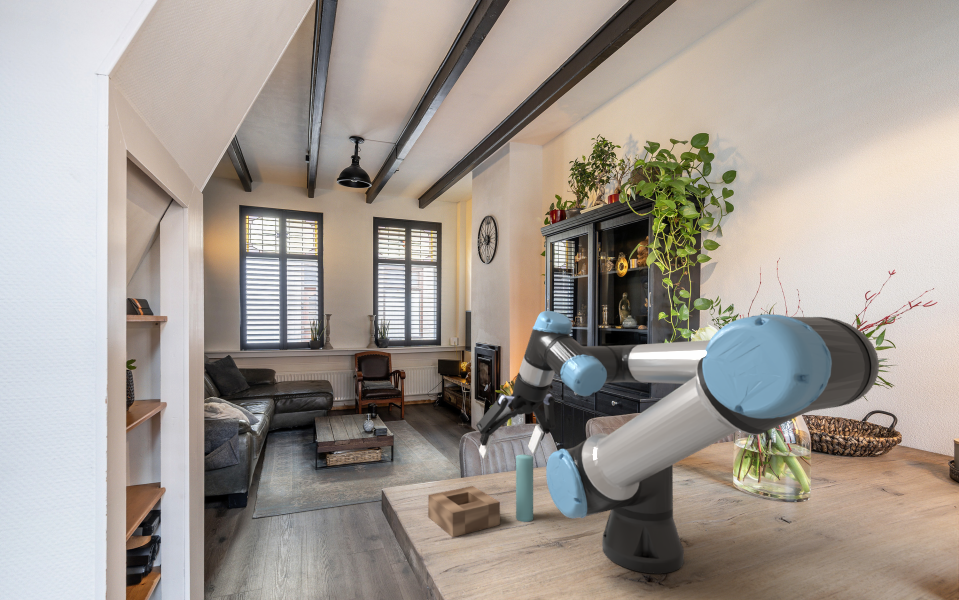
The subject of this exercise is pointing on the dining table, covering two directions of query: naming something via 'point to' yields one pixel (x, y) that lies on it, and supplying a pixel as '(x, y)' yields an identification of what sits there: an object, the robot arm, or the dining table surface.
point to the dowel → (524, 488)
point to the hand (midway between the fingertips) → (507, 452)
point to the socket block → (463, 510)
